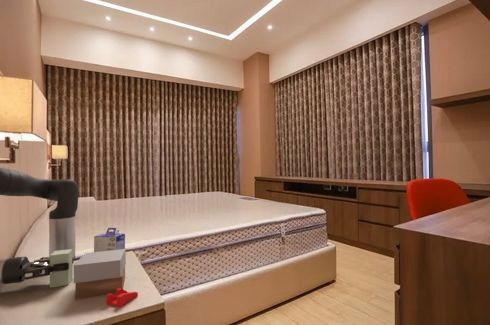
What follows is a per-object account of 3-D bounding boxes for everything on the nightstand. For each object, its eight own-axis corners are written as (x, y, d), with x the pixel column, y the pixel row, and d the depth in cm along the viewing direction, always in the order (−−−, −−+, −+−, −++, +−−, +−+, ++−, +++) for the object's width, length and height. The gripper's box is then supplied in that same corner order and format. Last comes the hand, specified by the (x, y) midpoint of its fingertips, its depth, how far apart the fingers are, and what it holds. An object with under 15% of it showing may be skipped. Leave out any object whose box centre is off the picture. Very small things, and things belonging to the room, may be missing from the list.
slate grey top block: (85, 268, 86) (85, 253, 86) (125, 263, 89) (125, 248, 89) (73, 283, 74) (73, 265, 74) (120, 277, 78) (120, 260, 78)
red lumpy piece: (120, 308, 69) (120, 297, 69) (106, 306, 71) (106, 294, 71) (137, 297, 75) (137, 286, 75) (124, 295, 77) (124, 284, 77)
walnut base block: (84, 284, 85) (84, 269, 85) (125, 278, 89) (125, 263, 90) (75, 301, 74) (75, 283, 74) (122, 293, 78) (122, 276, 78)
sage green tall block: (54, 281, 87) (54, 250, 87) (72, 279, 89) (72, 249, 89) (49, 287, 82) (49, 255, 82) (68, 285, 84) (68, 253, 84)
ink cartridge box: (126, 265, 101) (125, 227, 101) (116, 270, 96) (116, 230, 96) (103, 264, 103) (103, 226, 103) (92, 269, 98) (92, 229, 98)
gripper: (-7, 266, 74) (65, 258, 80) (16, 252, 87) (76, 246, 93) (-7, 293, 74) (65, 283, 80) (16, 275, 87) (76, 267, 93)
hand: (70, 263), depth 87 cm, fingers closed on sage green tall block, 5 cm apart
